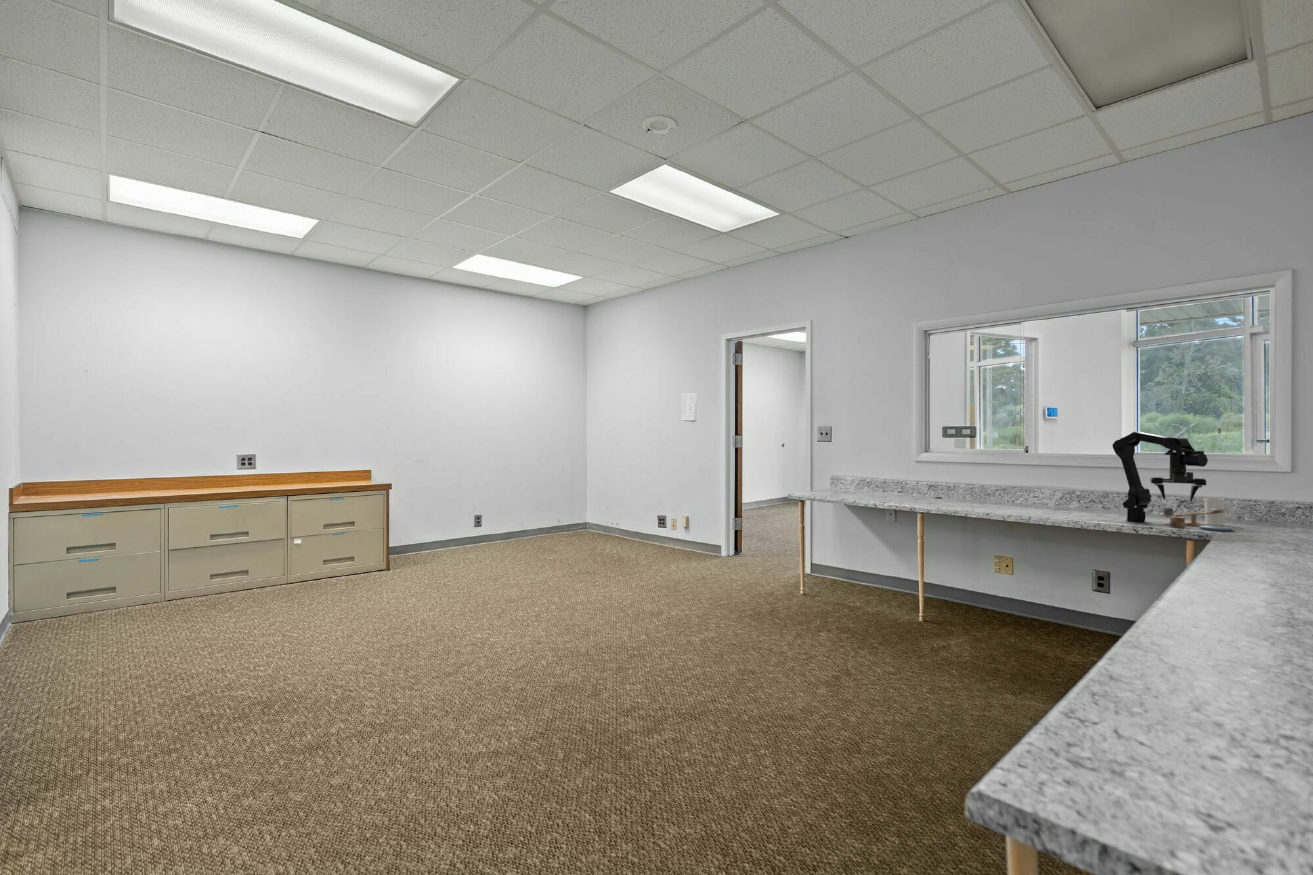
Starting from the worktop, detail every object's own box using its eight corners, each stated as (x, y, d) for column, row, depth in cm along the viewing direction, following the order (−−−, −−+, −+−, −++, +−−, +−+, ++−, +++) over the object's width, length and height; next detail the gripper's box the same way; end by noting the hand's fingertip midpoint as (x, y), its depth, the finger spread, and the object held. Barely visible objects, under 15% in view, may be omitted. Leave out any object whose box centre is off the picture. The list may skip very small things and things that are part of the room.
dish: (1202, 530, 271) (1202, 527, 271) (1197, 527, 280) (1197, 524, 280) (1236, 532, 265) (1236, 529, 265) (1230, 529, 274) (1230, 526, 274)
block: (1171, 527, 280) (1171, 517, 280) (1170, 526, 284) (1170, 516, 284) (1184, 528, 278) (1184, 518, 278) (1183, 527, 281) (1183, 516, 281)
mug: (1205, 524, 288) (1205, 498, 288) (1203, 523, 293) (1203, 497, 293) (1235, 526, 282) (1235, 499, 282) (1232, 524, 287) (1233, 498, 287)
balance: (1160, 523, 290) (1160, 507, 290) (1159, 522, 295) (1159, 505, 295) (1230, 528, 277) (1230, 510, 277) (1227, 526, 282) (1227, 509, 282)
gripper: (1153, 465, 279) (1153, 500, 279) (1209, 467, 269) (1208, 503, 269) (1150, 464, 288) (1150, 498, 288) (1204, 465, 278) (1203, 501, 278)
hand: (1177, 500), depth 281 cm, fingers open, 9 cm apart
